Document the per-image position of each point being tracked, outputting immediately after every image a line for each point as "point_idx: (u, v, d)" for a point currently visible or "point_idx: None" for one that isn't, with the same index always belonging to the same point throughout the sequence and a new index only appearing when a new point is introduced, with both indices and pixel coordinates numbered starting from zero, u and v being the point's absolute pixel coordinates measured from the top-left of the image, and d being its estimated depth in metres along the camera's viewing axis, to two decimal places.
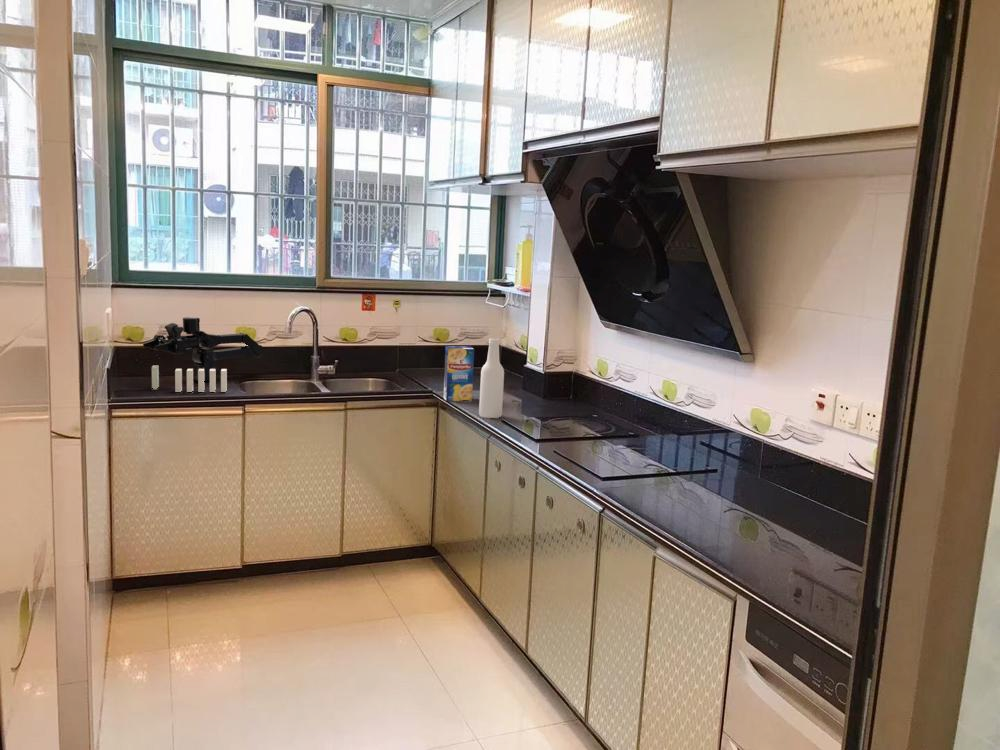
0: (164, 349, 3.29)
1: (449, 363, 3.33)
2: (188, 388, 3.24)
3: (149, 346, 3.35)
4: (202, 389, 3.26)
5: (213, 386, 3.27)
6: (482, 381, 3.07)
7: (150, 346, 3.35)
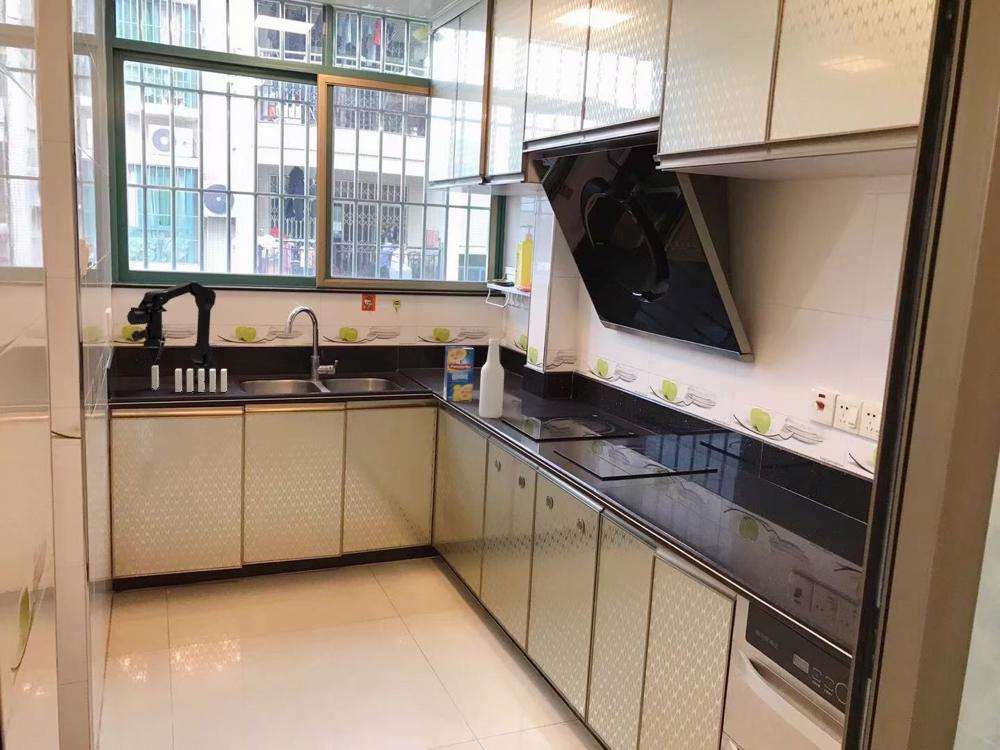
0: (155, 355, 3.23)
1: (449, 363, 3.33)
2: (188, 388, 3.24)
3: (158, 353, 3.33)
4: (202, 389, 3.26)
5: (213, 386, 3.27)
6: (482, 381, 3.07)
7: (159, 352, 3.33)
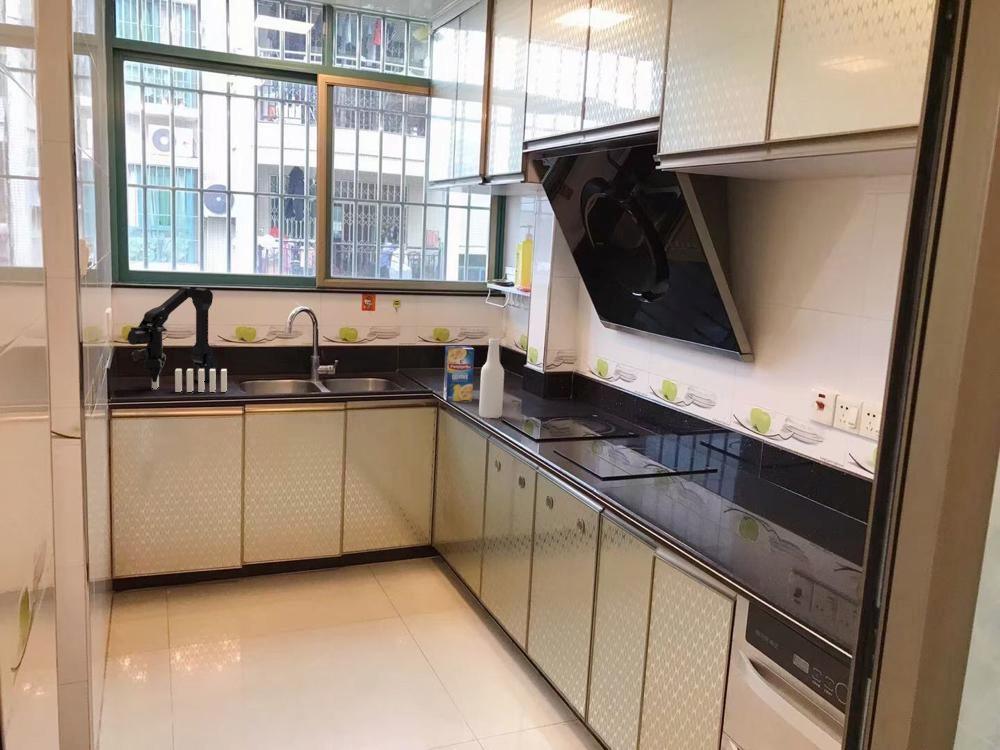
0: (156, 374, 3.26)
1: (449, 363, 3.33)
2: (188, 388, 3.24)
3: None
4: (202, 389, 3.26)
5: (213, 386, 3.27)
6: (482, 381, 3.07)
7: None
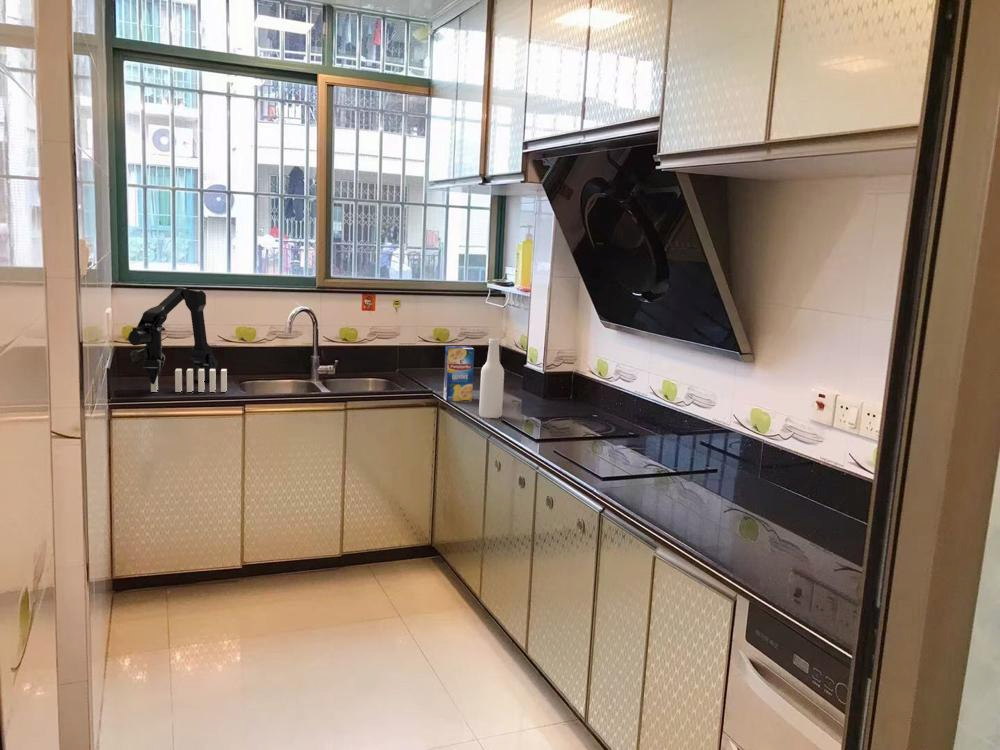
0: (155, 375, 3.17)
1: (449, 363, 3.33)
2: (188, 388, 3.24)
3: (157, 373, 3.27)
4: (202, 389, 3.26)
5: (213, 386, 3.27)
6: (482, 381, 3.07)
7: None
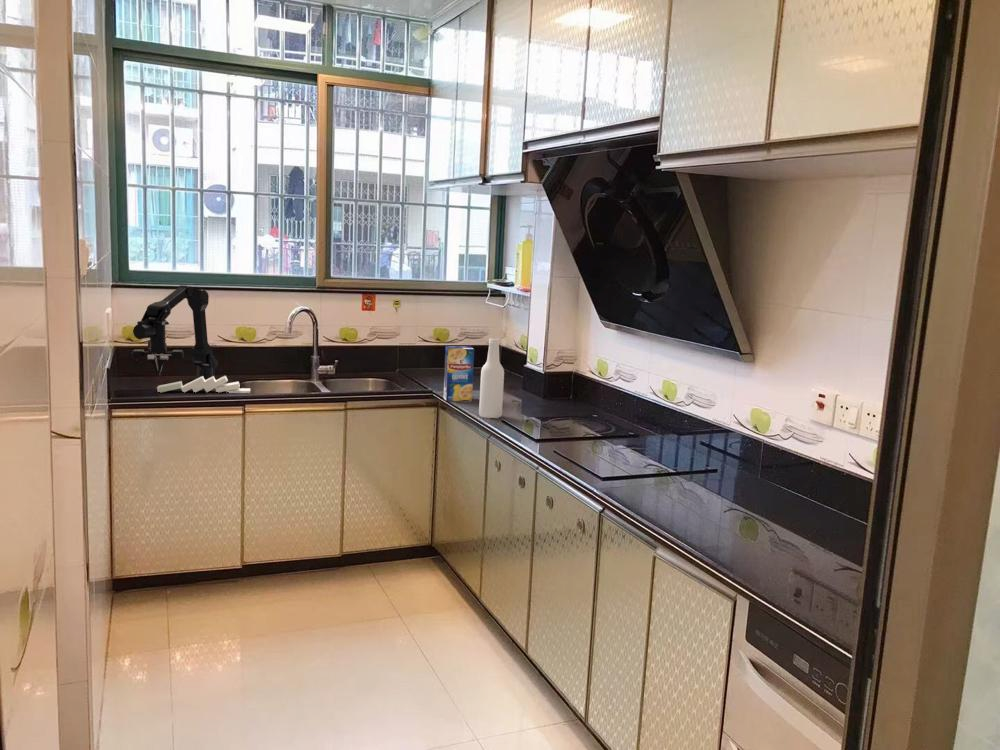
0: None
1: (449, 363, 3.33)
2: (196, 387, 3.25)
3: None
4: (209, 389, 3.27)
5: (222, 390, 3.28)
6: (482, 381, 3.07)
7: None
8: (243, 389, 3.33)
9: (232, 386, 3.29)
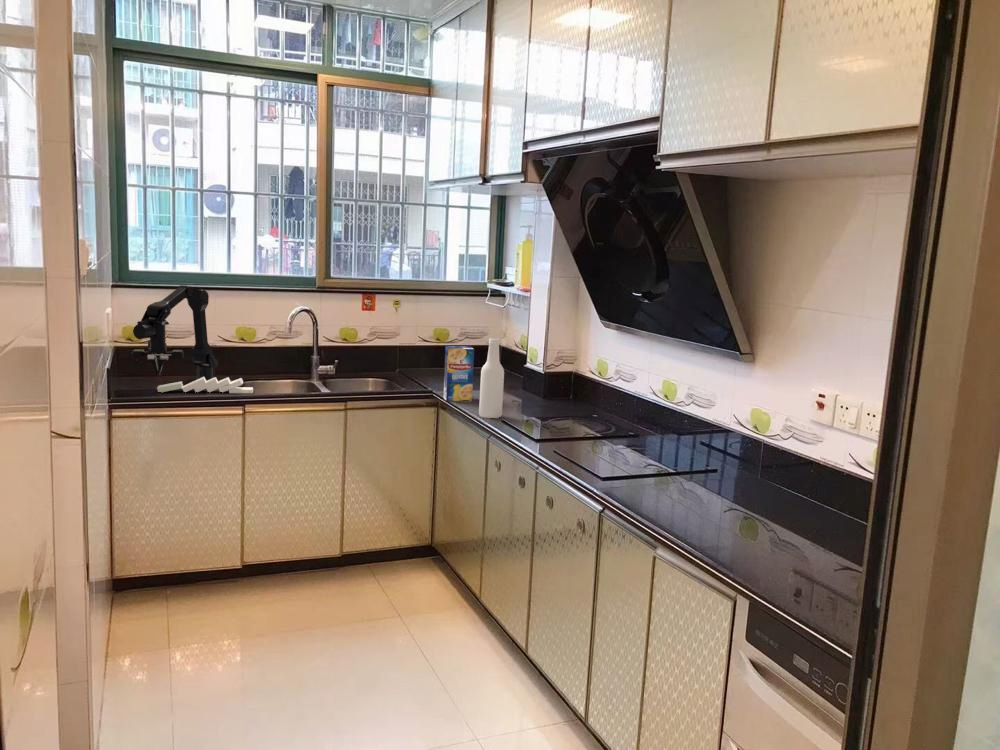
0: None
1: (449, 363, 3.33)
2: (198, 387, 3.25)
3: None
4: (211, 390, 3.27)
5: (226, 389, 3.28)
6: (482, 381, 3.07)
7: None
8: (246, 388, 3.32)
9: (234, 384, 3.28)
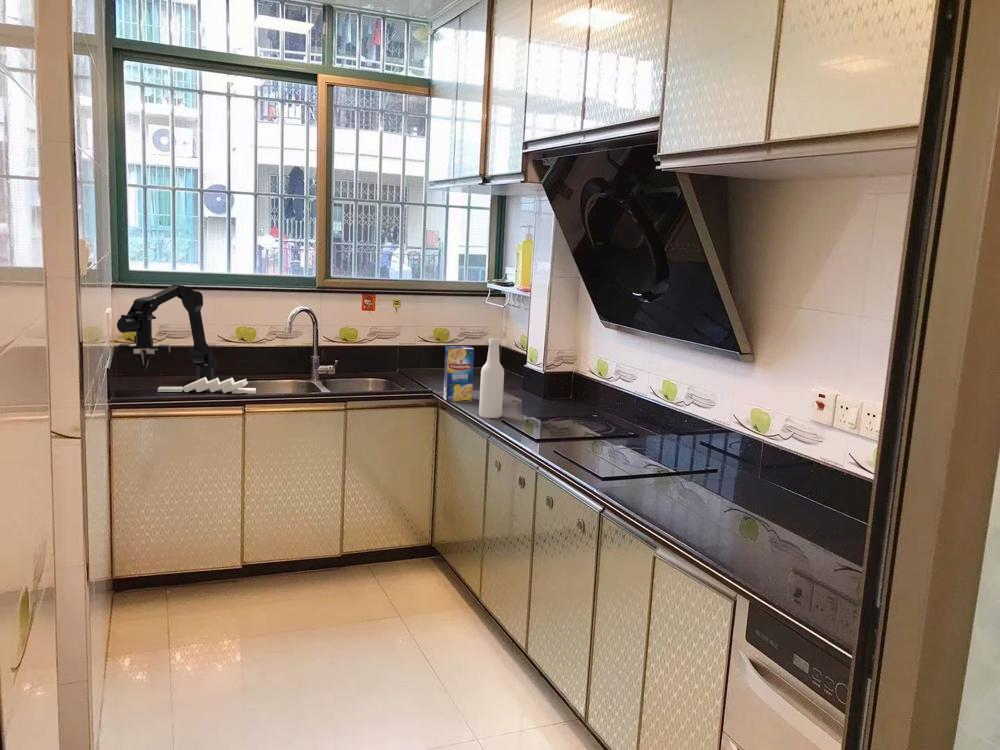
0: None
1: (449, 363, 3.33)
2: (200, 388, 3.25)
3: None
4: (214, 390, 3.27)
5: (229, 389, 3.27)
6: (482, 381, 3.07)
7: None
8: (248, 389, 3.32)
9: (237, 385, 3.26)
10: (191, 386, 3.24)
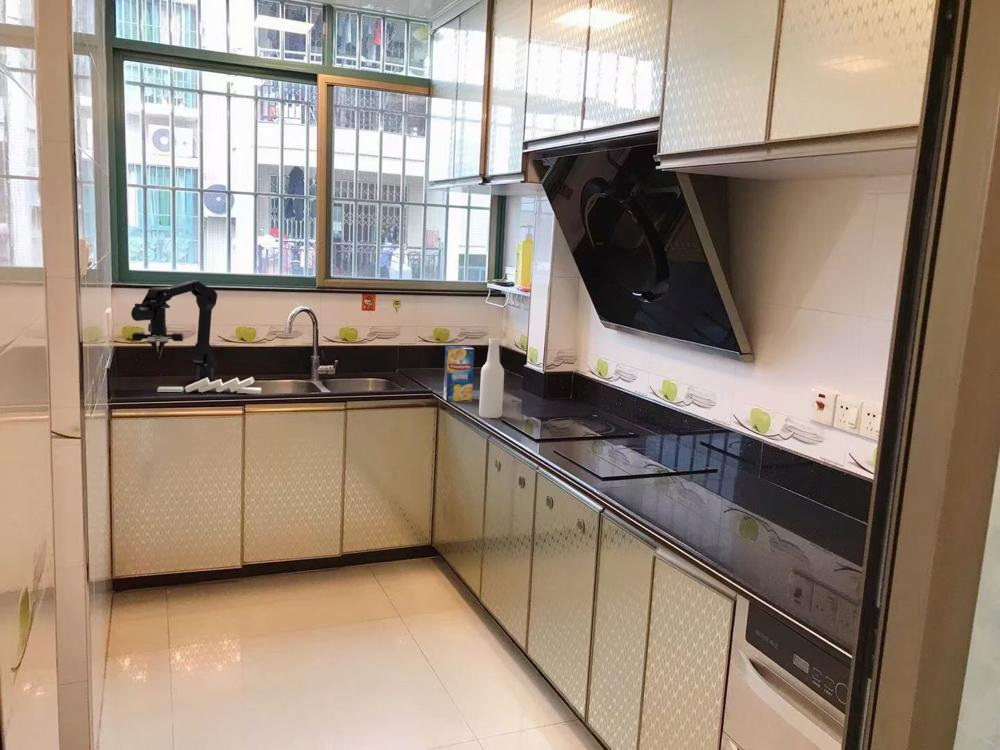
0: None
1: (449, 363, 3.33)
2: (202, 388, 3.26)
3: None
4: (220, 390, 3.27)
5: (236, 388, 3.28)
6: (482, 381, 3.07)
7: None
8: (254, 388, 3.32)
9: (244, 383, 3.27)
10: (193, 386, 3.24)
